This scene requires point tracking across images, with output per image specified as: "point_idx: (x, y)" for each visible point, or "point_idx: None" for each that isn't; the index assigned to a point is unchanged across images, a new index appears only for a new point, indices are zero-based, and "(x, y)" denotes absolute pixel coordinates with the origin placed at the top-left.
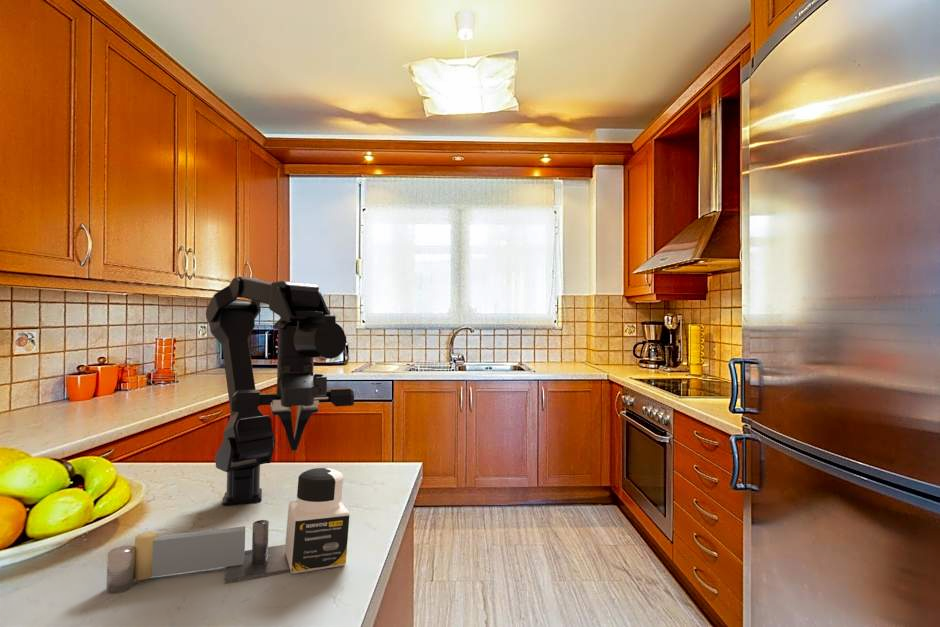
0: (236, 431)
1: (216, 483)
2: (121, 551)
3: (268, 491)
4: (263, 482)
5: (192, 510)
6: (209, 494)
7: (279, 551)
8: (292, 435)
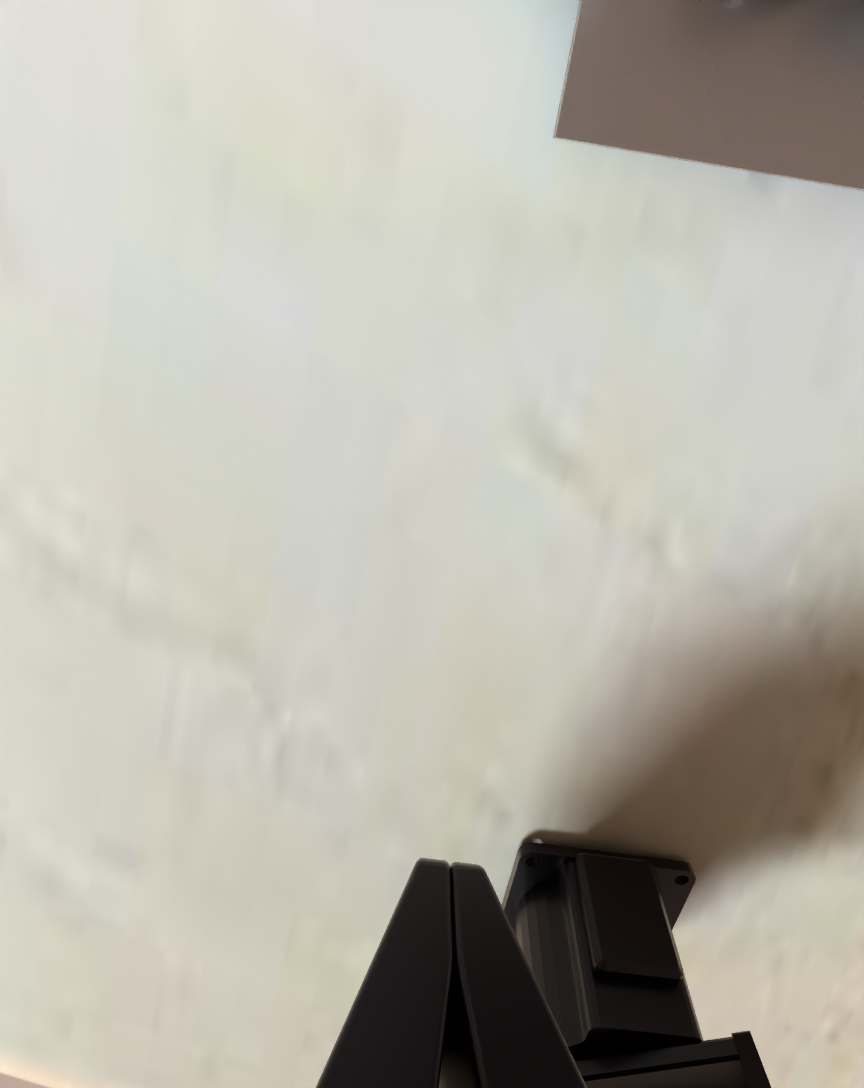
0: None
1: None
2: None
3: None
4: None
5: (817, 874)
6: (696, 997)
7: (648, 28)
8: (496, 1080)
